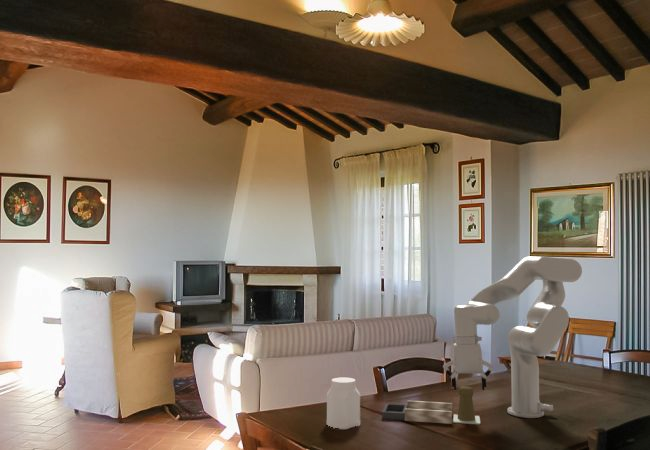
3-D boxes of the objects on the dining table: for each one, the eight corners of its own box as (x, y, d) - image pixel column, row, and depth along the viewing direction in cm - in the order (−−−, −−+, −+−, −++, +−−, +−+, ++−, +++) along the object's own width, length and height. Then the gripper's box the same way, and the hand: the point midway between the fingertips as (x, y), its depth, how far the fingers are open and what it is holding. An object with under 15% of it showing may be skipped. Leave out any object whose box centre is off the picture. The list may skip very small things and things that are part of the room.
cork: (476, 421, 201) (475, 389, 201) (458, 420, 202) (457, 388, 202) (474, 416, 207) (473, 385, 207) (457, 415, 208) (456, 384, 208)
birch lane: (452, 414, 211) (452, 403, 211) (451, 423, 199) (451, 411, 200) (407, 411, 215) (407, 400, 215) (404, 420, 203) (404, 409, 203)
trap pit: (407, 411, 215) (407, 404, 215) (404, 420, 203) (404, 413, 203) (386, 410, 217) (386, 403, 217) (381, 419, 205) (381, 411, 205)
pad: (479, 417, 208) (479, 415, 208) (480, 424, 199) (480, 423, 199) (453, 415, 210) (453, 414, 210) (453, 422, 201) (453, 421, 201)
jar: (339, 430, 191) (339, 384, 192) (321, 424, 199) (321, 379, 199) (365, 424, 199) (365, 379, 199) (346, 418, 206) (346, 375, 207)
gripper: (491, 338, 207) (494, 386, 207) (441, 338, 211) (444, 386, 211) (492, 342, 200) (495, 392, 199) (441, 342, 204) (443, 391, 203)
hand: (469, 389), depth 205 cm, fingers open, 9 cm apart
